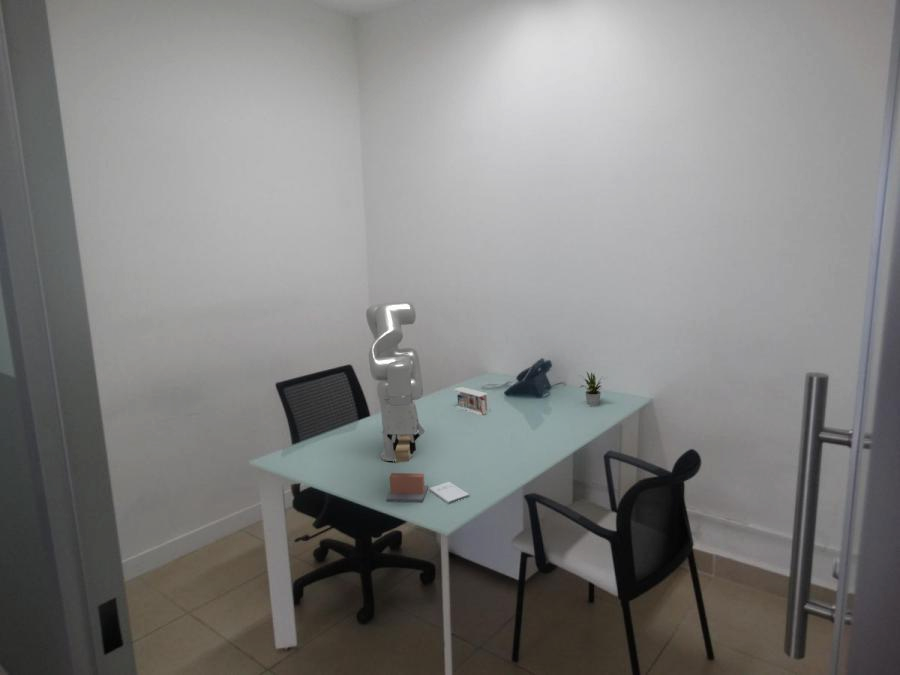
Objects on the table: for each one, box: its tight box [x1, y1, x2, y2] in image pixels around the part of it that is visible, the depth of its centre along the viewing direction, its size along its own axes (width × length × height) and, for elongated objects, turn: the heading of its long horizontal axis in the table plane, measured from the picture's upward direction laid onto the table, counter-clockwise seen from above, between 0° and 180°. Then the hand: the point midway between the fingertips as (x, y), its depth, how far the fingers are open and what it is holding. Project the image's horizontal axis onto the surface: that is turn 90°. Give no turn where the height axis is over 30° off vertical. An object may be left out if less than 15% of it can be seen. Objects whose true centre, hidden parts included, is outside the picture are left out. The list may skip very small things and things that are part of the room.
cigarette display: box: [453, 386, 490, 416], centre depth 272 cm, size 20×6×9 cm, turn 41°
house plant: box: [579, 371, 608, 407], centre depth 270 cm, size 14×14×16 cm
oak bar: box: [395, 435, 411, 463], centre depth 186 cm, size 14×4×4 cm, turn 178°
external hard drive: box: [428, 481, 471, 505], centre depth 188 cm, size 2×8×12 cm
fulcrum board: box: [386, 472, 430, 503], centre depth 189 cm, size 10×12×7 cm
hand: (404, 452), depth 186 cm, fingers closed on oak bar, 4 cm apart
